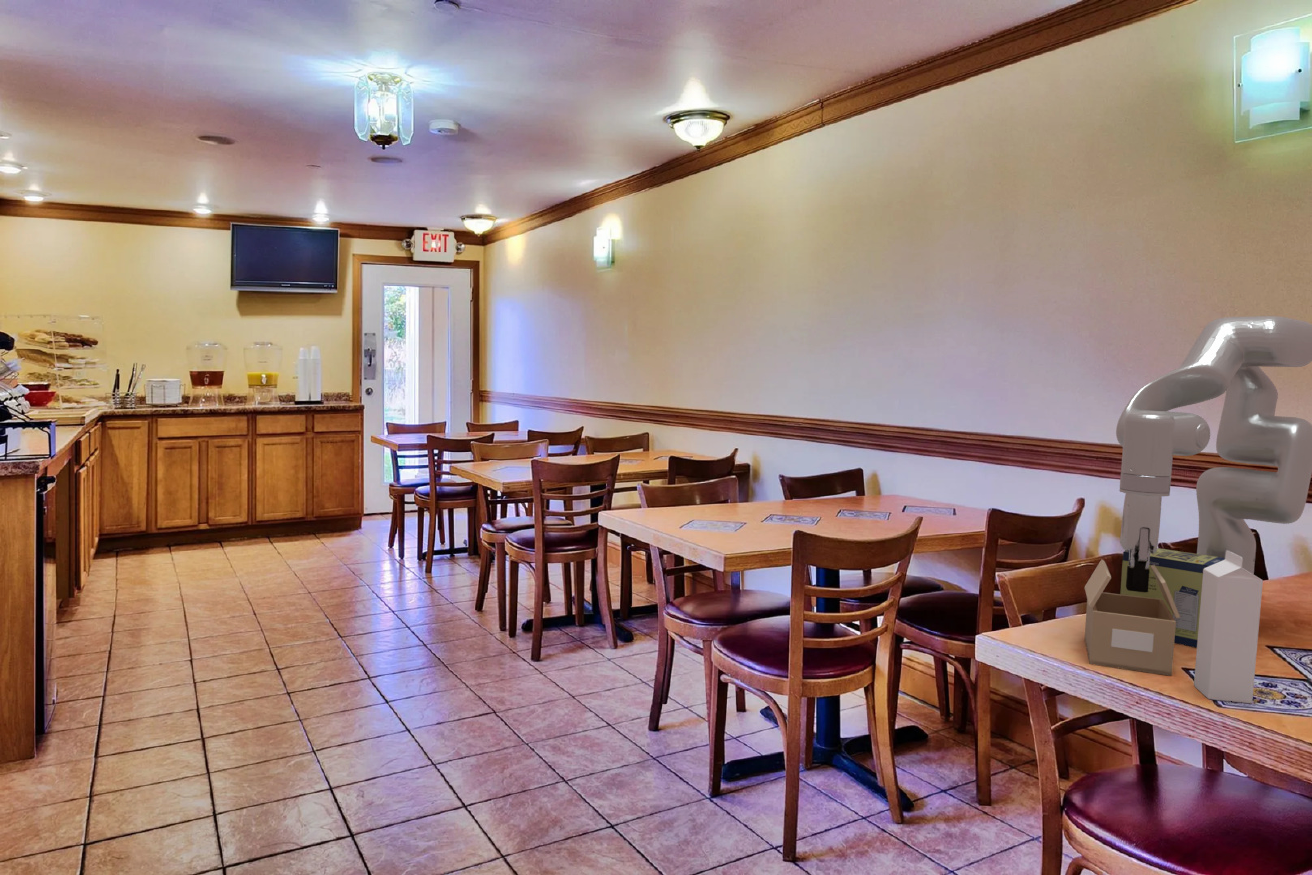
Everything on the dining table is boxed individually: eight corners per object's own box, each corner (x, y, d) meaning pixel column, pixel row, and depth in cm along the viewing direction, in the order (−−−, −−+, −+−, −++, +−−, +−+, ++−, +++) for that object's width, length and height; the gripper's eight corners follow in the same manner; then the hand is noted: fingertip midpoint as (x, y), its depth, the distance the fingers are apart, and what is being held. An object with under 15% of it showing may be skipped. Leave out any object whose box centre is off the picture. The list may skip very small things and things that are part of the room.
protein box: (1133, 620, 174) (1139, 544, 173) (1223, 639, 163) (1230, 558, 162) (1115, 630, 167) (1121, 550, 166) (1208, 651, 156) (1215, 565, 155)
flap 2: (1163, 597, 155) (1150, 565, 156) (1167, 596, 155) (1154, 564, 155) (1176, 618, 141) (1161, 583, 142) (1180, 617, 141) (1165, 582, 142)
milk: (1235, 690, 136) (1248, 551, 134) (1252, 704, 130) (1266, 559, 129) (1192, 685, 137) (1204, 548, 136) (1207, 699, 132) (1220, 555, 130)
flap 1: (1084, 587, 160) (1101, 559, 159) (1087, 588, 160) (1104, 560, 158) (1089, 606, 146) (1107, 575, 145) (1092, 607, 146) (1111, 577, 145)
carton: (1084, 638, 161) (1087, 590, 160) (1158, 648, 156) (1162, 599, 156) (1089, 664, 146) (1093, 611, 146) (1171, 676, 142) (1176, 621, 141)
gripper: (1116, 478, 157) (1108, 579, 158) (1124, 487, 143) (1115, 597, 145) (1164, 482, 154) (1155, 584, 155) (1176, 491, 140) (1167, 603, 142)
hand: (1136, 590), depth 150 cm, fingers closed
